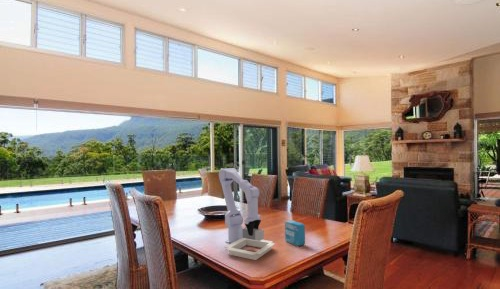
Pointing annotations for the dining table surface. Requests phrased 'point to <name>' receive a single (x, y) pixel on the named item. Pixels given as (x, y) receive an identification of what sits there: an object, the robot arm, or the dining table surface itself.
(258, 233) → the box
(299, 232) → the data package
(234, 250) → the cream square frame
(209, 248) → the dining table surface
